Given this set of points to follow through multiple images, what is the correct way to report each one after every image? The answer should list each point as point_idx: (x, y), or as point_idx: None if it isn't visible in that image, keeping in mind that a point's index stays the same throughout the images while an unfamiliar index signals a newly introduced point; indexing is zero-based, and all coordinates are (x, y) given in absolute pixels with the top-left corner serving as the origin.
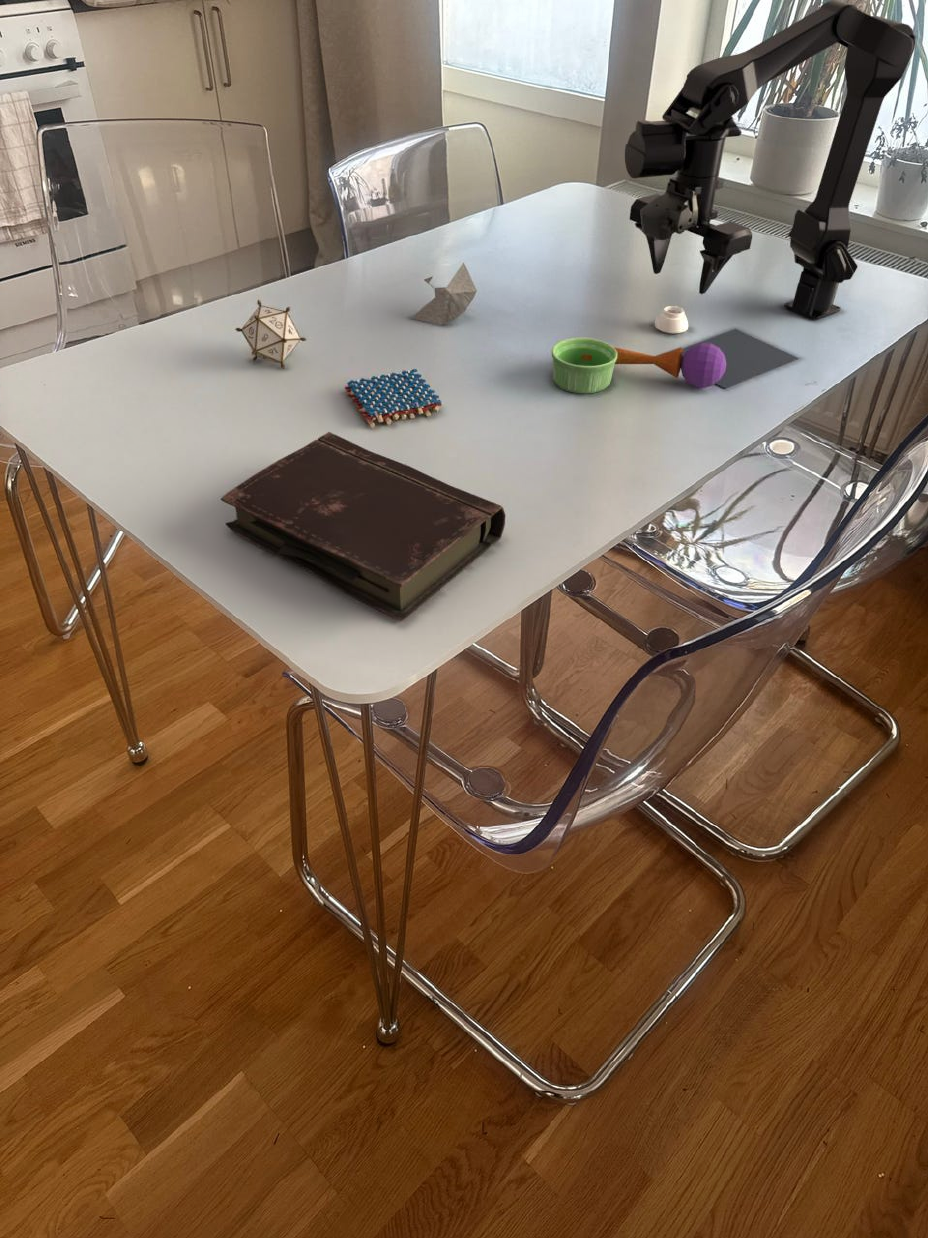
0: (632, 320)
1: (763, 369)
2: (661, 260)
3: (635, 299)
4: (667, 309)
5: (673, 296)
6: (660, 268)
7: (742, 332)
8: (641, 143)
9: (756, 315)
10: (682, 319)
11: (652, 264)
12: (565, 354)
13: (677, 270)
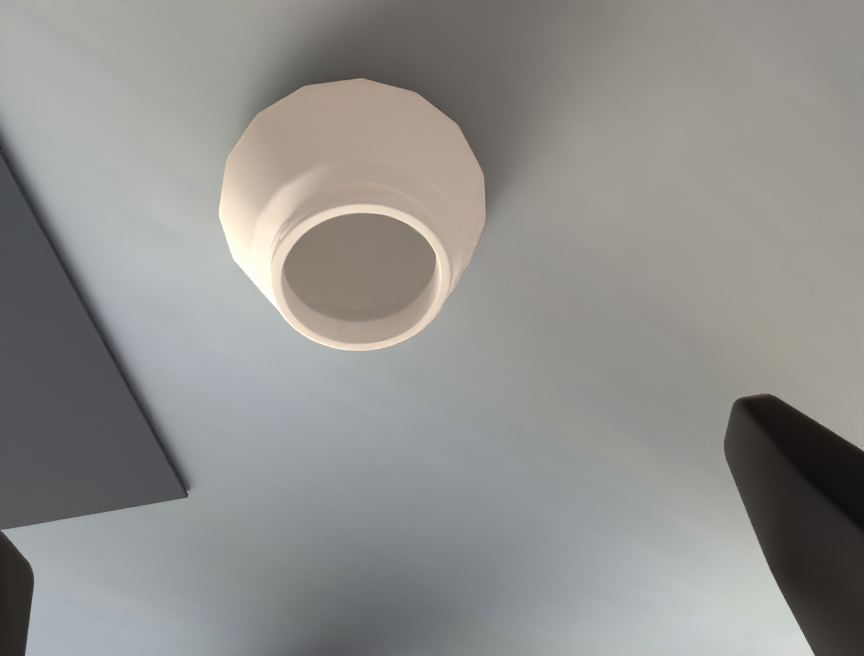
0: (634, 8)
1: None
2: (802, 572)
3: (843, 244)
4: (437, 259)
5: (698, 434)
6: (746, 484)
7: (130, 503)
8: None
9: (304, 609)
10: (256, 276)
11: (858, 453)
12: None
13: None
